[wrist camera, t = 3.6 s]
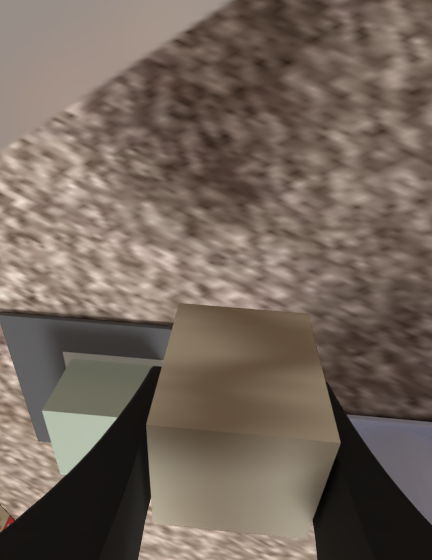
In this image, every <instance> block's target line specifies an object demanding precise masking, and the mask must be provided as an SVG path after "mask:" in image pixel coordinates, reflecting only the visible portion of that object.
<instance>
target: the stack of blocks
mask: <svg viewBox="0 0 432 560" xmlns="http://www.w3.org/2000/svg"><path fill="white" fill-rule="evenodd" d="M13 522H14V520H13V519H12V518H11V517H10V516H9V514H8V513H7V512H6V511H5V510H4V509H3V508H2V507H1V506H0V532H1V531H2V530H4V529H5V528H6V527H8V526H9V525H10V524H11V523H13Z"/></svg>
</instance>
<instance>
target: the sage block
mask: <svg viewBox="0 0 432 560" xmlns="http://www.w3.org/2000/svg"><path fill="white" fill-rule="evenodd" d="M152 367H153V366H152V365H141V364H129V363H118V362H106V361H95V360H83V359H71V361H70V362H69V364H68V366H67V368H66V369H65V371H64V373H63V375H62V376H61V378H60V380H59V382H58V383H57V385H56V387H55V389H54V390H53V392H52V394H51V396H50V397H49V399H48V401H47V403H46V404H45V406H44V408H43V409H42V413H43V416H44V419H45V423H46V426H47V430H48V433H49V436H50V440H51V443H52V447H53V450H54V453H55V457H56V460H57V464H58V467H59V471H60V474H61V475H67V474H68V473H69V472H70V471H71V470H72V469H73V468H74V467H75V466H76V465H77V464H78V463H79V462H80V460H81V459H82V458H83V457H84V456H85V455H86V454H87V453H88V452H89V451H90V450H91V449H92V448H93V446H94V445H95V444H96V443H97V442H98V441H99V440H100V438H101V437H102V436H103V435H104V434H105V432H106V431H107V430H108V429H109V428H110V426H111V425H112V424H113V423H114V421H115V420H116V419H117V418H118V416H119V415H120V414H121V412H122V411H123V410H124V408H125V407H126V405H127V404H128V403H129V401H130V400H131V399H132V397H133V396H134V394H135V393H136V391H137V390H138V388H139V387H140V385H141V384H142V382H143V381H144V379H145V377H146V376H147V374H148V372H149V370H150V369H151V368H152ZM161 367H162V366H161Z"/></svg>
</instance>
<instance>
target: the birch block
mask: <svg viewBox="0 0 432 560" xmlns="http://www.w3.org/2000/svg"><path fill="white" fill-rule="evenodd" d="M146 430H147V444H148V459H149V473H150V488H151V502H152V517H153V524H159V525H169V526H179V527H189V528H199V529H209V530H219V531H229V532H238V533H248V534H258V535H268V536H278V537H288V538H298V539H306V537H307V534H308V531H309V528H310V526H311V523H312V520H313V517H314V515H315V512H316V509H317V506H318V504H319V501H320V498H321V496H322V493H323V490H324V487H325V485H326V482H327V479H328V476H329V474H330V471H331V468H332V465H333V463H334V460H335V457H336V454H337V452H338V449H339V446H340V443H341V442H340V438H339V434H338V430H337V426H336V422H335V418H334V414H333V410H332V406H331V402H330V398H329V394H328V390H327V386H326V382H325V378H324V374H323V370H322V366H321V363H320V359H319V355H318V351H317V347H316V343H315V339H314V335H313V331H312V327H311V323H310V319H309V315H308V314H304V313H292V312H279V311H267V310H255V309H243V308H231V307H219V306H207V305H195V304H182V303H179V305H178V309H177V313H176V316H175V320H174V324H173V327H172V331H171V335H170V338H169V342H168V346H167V350H166V353H165V357H164V361H163V364H162V368H161V372H160V375H159V379H158V383H157V387H156V390H155V394H154V398H153V401H152V405H151V409H150V412H149V416H148V420H147V423H146Z"/></svg>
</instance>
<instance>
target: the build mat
mask: <svg viewBox="0 0 432 560" xmlns="http://www.w3.org/2000/svg"><path fill="white" fill-rule="evenodd" d="M0 324H1V327H2V330H3V333H4V336H5V339H6V342H7V346H8V349H9V352H10V355H11V358H12V361H13V364H14V367H15V370H16V373H17V377H18V380H19V383H20V386H21V389H22V392H23V395H24V398H25V401H26V405H27V408H28V411H29V414H30V417H31V420H32V423H33V426H34V429H35V432H36V436H37V439H38V441H43V442H51V440H50V436H49V433H48V430H47V426H46V423H45V419H44V416H43V413H42V409H43V408H44V406H45V404H46V403H47V401H48V399H49V397H50V396H51V394H52V392H53V390H54V389H55V387H56V385H57V383H58V382H59V380H60V378H61V376H62V375H63V373H64V371H65V369H66V368H67V366H68V364H69V362H70V361H71V359H83V360H95V361H106V362H118V363H129V364H141V365H152V366H162V364H163V361H164V357H165V353H166V350H167V346H168V342H169V338H170V335H171V331H172V327H173V326H162V325H150V324H138V323H126V322H114V321H102V320H90V319H78V318H66V317H54V316H42V315H30V314H18V313H6V312H0Z"/></svg>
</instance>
